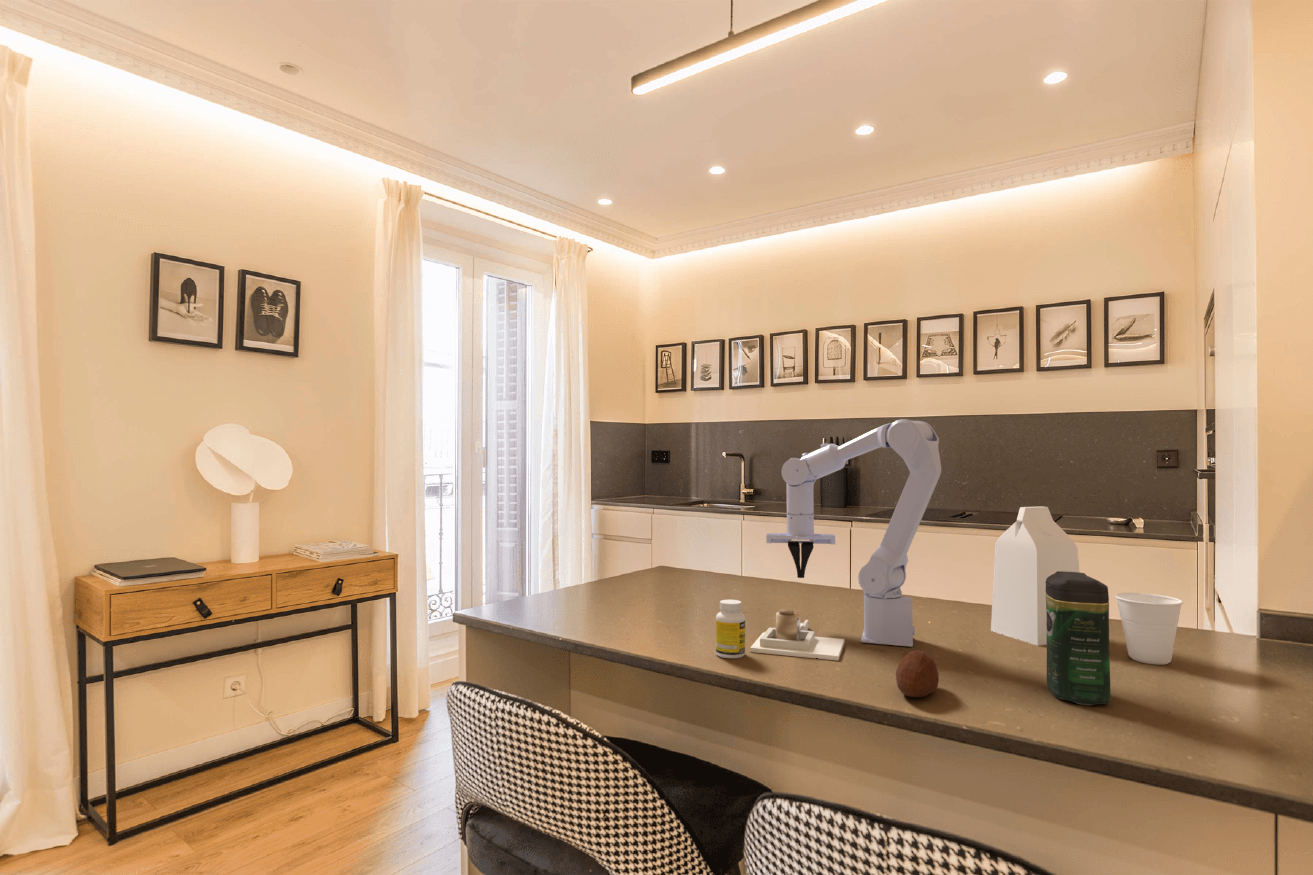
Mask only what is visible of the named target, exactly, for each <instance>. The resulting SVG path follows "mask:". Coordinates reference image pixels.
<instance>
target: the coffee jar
mask: <svg viewBox="0 0 1313 875" xmlns="http://www.w3.org/2000/svg"><path fill="white" fill-rule="evenodd" d="M1045 583H1046V590H1045V591H1046V619H1047V645H1046V685H1047V687H1048V689H1049V691H1050V692H1051V694H1053V696H1055V697H1056V698H1057V699H1059V700H1064V701H1065V700H1066V701H1069V702H1073V703H1075V704H1077V705H1083V706H1094V705H1107V704H1108V703H1110V701H1111V665H1110V664H1111V662H1110V659H1111V658H1110V655H1111V654H1110V599H1109V598H1110V596H1109V589H1108V588H1109V587H1108V586H1107V585H1106V584H1105V583H1103V582H1101V581H1099V580H1097V579H1095V578H1093V577H1091V576H1088V575H1087V574H1086V573H1084V572H1080V571H1079V572H1064V571H1057V572H1056V573H1055V574H1052V575H1050V576H1049V577H1048V578H1047V579H1046V582H1045Z"/></svg>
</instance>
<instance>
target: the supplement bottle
mask: <svg viewBox="0 0 1313 875" xmlns="http://www.w3.org/2000/svg"><path fill="white" fill-rule="evenodd" d="M719 610H720V611H719V612H717V614H716V616H715V654H716V655H717V657H720V658H723V659H741V658H743V657H745V655H746V616H745V615H744V614H743V613H742V612H741V611H742V601H740V600H738V599H722V600H720V601H719Z"/></svg>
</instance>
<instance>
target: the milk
mask: <svg viewBox="0 0 1313 875" xmlns="http://www.w3.org/2000/svg"><path fill="white" fill-rule="evenodd" d="M993 556H994V557H993V574H992V575H993V579H992V596H991V598H992V599H991V617H990V619H991V621H990V622H991V623H990V632H992V631H993V633H995V632H996V634H999V635H1002V634H1003V635H1002V636H1005V637H1007V638H1008V637H1009V638H1011V637H1012V639H1015V640H1018V639H1019V640H1018V641H1021V642H1025V643H1027V642H1028V643H1027V644H1031V645H1033V646H1037V647H1039V646H1047V619H1046V591H1045V590H1046V583H1045V582H1046V579H1047V578H1048V577H1049V576H1050V575H1052V574H1055V573H1056V572H1057V571H1064V572H1080V563H1079V551H1078V547H1077V544H1076V543H1075V541H1074V540H1073V539H1072V538H1071V536H1069V535H1068V534H1067V532H1065V531H1064V530H1063V528H1061V526H1059V524H1058V523H1057V522H1055V520H1054V519H1053V517H1052V514H1051V511H1050V510H1049V506H1021V507H1019V510H1018V514H1017V518H1016V521H1015V522H1014V523H1013V524H1011V525H1010V527H1008V528H1007V529H1006V530H1005V531H1004V532H1003V533H1002V534H1001V535H1000V536H999V537H998V538H997V539H996V541H995V543H994V555H993Z"/></svg>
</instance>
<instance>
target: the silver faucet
mask: <svg viewBox="0 0 1313 875" xmlns="http://www.w3.org/2000/svg"><path fill="white" fill-rule="evenodd" d="M794 612H795V611H794ZM795 613H797V634H798V633H799V630H800V623H801V616H799V615H800V613H799V612H795Z"/></svg>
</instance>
